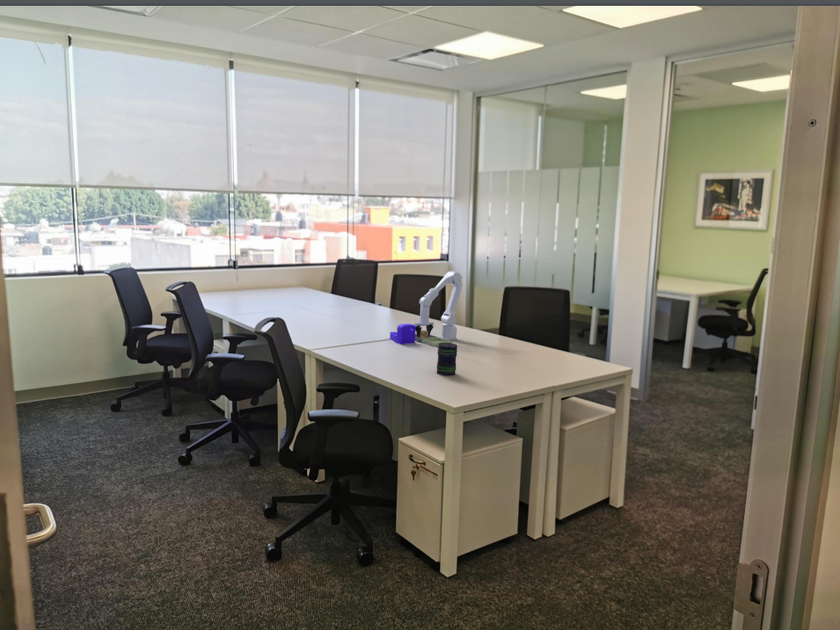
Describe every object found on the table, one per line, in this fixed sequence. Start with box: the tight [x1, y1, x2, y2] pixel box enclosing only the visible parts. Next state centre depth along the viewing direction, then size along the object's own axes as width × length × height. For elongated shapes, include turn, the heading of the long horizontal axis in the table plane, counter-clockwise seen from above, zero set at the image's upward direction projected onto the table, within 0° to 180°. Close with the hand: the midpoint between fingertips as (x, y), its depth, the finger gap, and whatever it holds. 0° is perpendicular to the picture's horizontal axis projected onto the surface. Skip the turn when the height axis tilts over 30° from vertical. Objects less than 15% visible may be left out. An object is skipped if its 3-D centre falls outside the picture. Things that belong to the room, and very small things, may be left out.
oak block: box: [419, 329, 428, 338], centre depth 402 cm, size 4×4×5 cm
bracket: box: [389, 323, 417, 345], centre depth 393 cm, size 18×11×12 cm, turn 38°
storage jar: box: [436, 342, 458, 377], centre depth 318 cm, size 10×10×15 cm
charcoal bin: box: [415, 333, 438, 343], centre depth 402 cm, size 14×13×2 cm
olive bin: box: [421, 336, 453, 348], centre depth 391 cm, size 14×13×2 cm
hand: (423, 336), depth 402 cm, fingers open, 7 cm apart
